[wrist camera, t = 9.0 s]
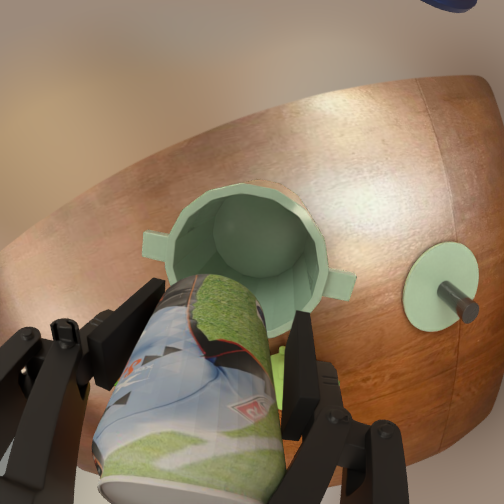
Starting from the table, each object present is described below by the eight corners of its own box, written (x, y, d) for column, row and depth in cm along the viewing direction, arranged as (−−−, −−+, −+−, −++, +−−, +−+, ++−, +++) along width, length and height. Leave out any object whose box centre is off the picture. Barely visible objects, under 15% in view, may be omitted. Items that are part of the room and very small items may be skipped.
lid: (419, 229, 34) (452, 247, 25) (485, 251, 33) (519, 270, 24) (387, 322, 38) (407, 357, 29) (454, 331, 37) (479, 361, 28)
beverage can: (164, 260, 15) (1, 400, 4) (297, 274, 15) (307, 505, 3) (170, 350, 17) (80, 500, 6) (283, 367, 16) (267, 553, 5)
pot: (197, 168, 35) (146, 168, 21) (342, 197, 34) (377, 213, 20) (184, 265, 39) (137, 312, 25) (317, 294, 38) (331, 357, 24)
